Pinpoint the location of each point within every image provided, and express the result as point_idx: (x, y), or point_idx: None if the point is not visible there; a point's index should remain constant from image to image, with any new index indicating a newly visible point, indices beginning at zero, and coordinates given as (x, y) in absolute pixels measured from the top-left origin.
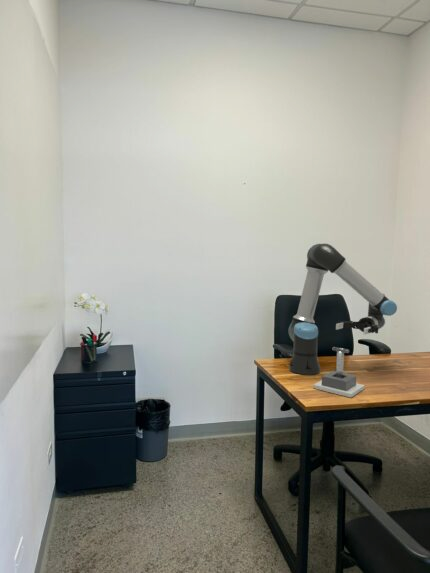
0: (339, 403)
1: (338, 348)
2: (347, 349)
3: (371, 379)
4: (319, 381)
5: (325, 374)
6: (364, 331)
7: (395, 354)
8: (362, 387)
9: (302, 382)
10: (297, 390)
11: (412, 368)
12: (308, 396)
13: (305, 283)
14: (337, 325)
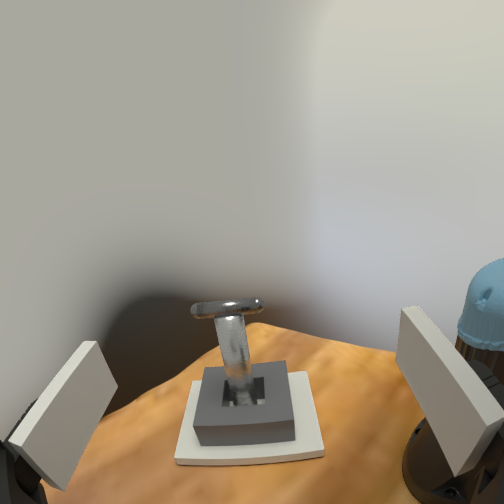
0: (209, 356)
1: (234, 300)
2: (196, 303)
3: None
4: (312, 397)
5: (287, 375)
6: (101, 365)
7: None
8: (178, 444)
9: (361, 388)
10: (322, 350)
11: None
12: (280, 345)
13: None
14: (400, 322)
